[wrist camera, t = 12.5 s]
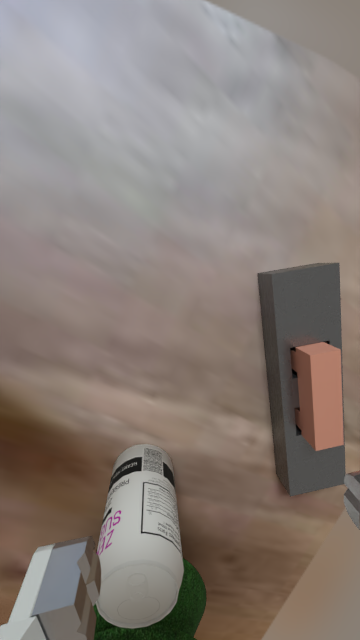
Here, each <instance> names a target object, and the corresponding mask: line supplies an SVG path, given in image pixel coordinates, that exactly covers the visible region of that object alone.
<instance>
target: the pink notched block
mask: <svg viewBox="0 0 360 640" xmlns="http://www.w3.org/2000/svg"><path fill="white" fill-rule="evenodd" d="M290 354H291V368H292V369H293V370H295V371H296V372H297V376H298V390H299V405H300V407H298V408H294V409H295V423H296V425H297V426H298V427H299V428H300V429H301V433H302V436H303V437H304V438H305V440H306V441H307V442H308V443H309V444H310V445H311V446H312V447H313V449H314V450H315V451H318V450H323V449H327V448H332V447H336V446H341V445H344V438H343V407H342V375H341V349H338V348H336V347H334V346H331V345H329V344H327V343H325V342H320V343H315V344H314V343H313V344H308V345H303V346H298V347H292V348H290Z"/></svg>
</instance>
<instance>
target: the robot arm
mask: <svg viewBox="0 0 360 640" xmlns="http://www.w3.org/2000/svg"><path fill="white" fill-rule="evenodd" d="M344 484H345V485H346V486H347V487H348V489H347V491H346V492H345V494H344V504H345V507H346V509H347V512H348V514H349V516H350V517H351V519H352V521H353V522H354V524H355V525H356V526H357V528H358V529H359V530H360V471H356V472H352V473H349V474H346V476H345V477H344ZM94 546H95V543H94V540H93V537H92V536H88V537H84V538H79V539H74V540H69V541H64V542H59V543H55V544H50V545H46V546H42V547H38V548H37V550H36V551H35V553H34V554H33V557H32V559H31V562H30V565H29V567H28V570H27V573H26V575H25V578H24V581H23V583H22V586H21V589H20V591H19V594H18V597H17V599H16V602H15V605H14V607H13V610H12V613H11V616H10V618H9V621H8V623H6V624H3V625H1V626H0V640H94V633H95V626H96V618H97V617H96V614H95V611H94V608H93V606H94V605H95V603H96V601H97V600H98V598H99V596H100V588H101V564H100V559H99V556H98V554H96V553H94Z"/></svg>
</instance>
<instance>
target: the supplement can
mask: <svg viewBox="0 0 360 640" xmlns="http://www.w3.org/2000/svg"><path fill="white" fill-rule="evenodd" d="M97 554H98V556H99V559H100V564H101V588H100V596H99V598H98V600H97V601H96V606H97V609H98V612H99V614H100V615H101V616H102V617H103V618H104V619H105V620H106V621H107V622H109V623H111V624H113V625H116V626H118V627H123V628H132V629H133V628H140V627H147V626H149V625H151V624H154V623H156V622H158V621H160V620H161V619H163V618H164V617H165V616H166V615H168V614H169V613H170V612H171V610H172V609H173V607H174V606H175V604H176V603H177V598H178V593H179V589H180V586H181V583H182V578H183V573H184V566H183V557H182V547H181V538H180V528H179V519H178V509H177V499H176V490H175V480H174V471H173V465H172V461H171V458H170V457H169V456H168V454H167V453H166V452H165V451H164V450H162V449H161V448H159V447H158V446H154V445H149V444H142V445H135V446H133V447H130V448H128V449H126V450H125V451H124V452H122V453H121V454H120V455H119V456H118V458H117V460H116V461H115V463H114V466H113V471H112V477H111V482H110V487H109V492H108V497H107V502H106V507H105V513H104V518H103V523H102V528H101V533H100V538H99V544H98V549H97Z"/></svg>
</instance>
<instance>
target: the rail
mask: <svg viewBox="0 0 360 640" xmlns="http://www.w3.org/2000/svg"><path fill="white" fill-rule="evenodd" d="M258 283H259V293H260V304H261V315H262V325H263V336H264V346H265V357H266V368H267V378H268V389H269V400H270V410H271V421H272V431H273V442H274V453H275V463H276V474H277V475H278V477H279V479H280V480H281V482H282V484H283V485H284V487H285V489H286V490H287V492H288V494H289V495H290V496H294V495H298V494H303V493H307V492H311V491H316V490H320V489H324V488H329V487H333V486H337V485H342V484H344V477H345V444H344V445H341V446H336V447H332V448H327V449H323V450H318V451H315V450H314V449H313V447H312V446H311V445H310V444H309V443H308V442H307V441H306V440H305V438H304V437H303V436H302V433H301V429H300V428H299V427H298V426H297V425H296V423H295V409H294V408H298V407H300V405H299V390H298V376H297V372H296V371H295V370H293V369H292V368H291V354H290V348H292V347H298V346H303V345H308V344H313V343H314V344H315V343H320V342H325V343H327V344H329V345H331V346H334V347H336V348H338V349H341V375H342V341H341V307H340V272H339V263H316V264H310V265H304V266H298V267H292V268H286V269H280V270H274V271H268V272H263V273H258ZM342 407H343V375H342ZM343 438H344V409H343Z"/></svg>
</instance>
